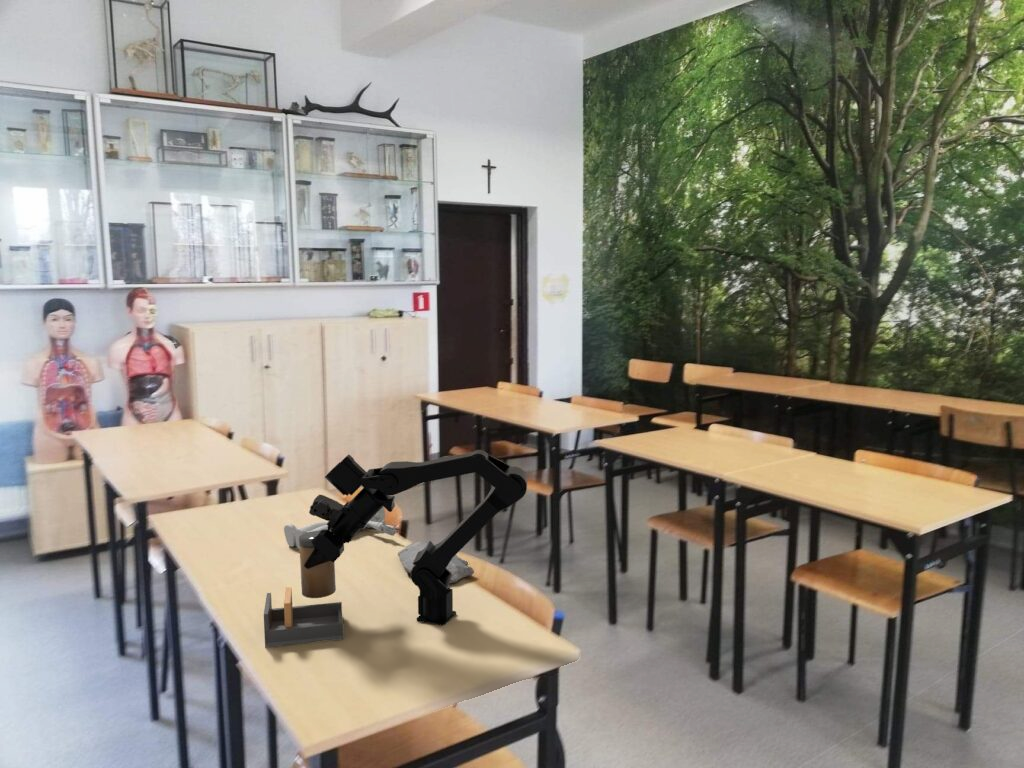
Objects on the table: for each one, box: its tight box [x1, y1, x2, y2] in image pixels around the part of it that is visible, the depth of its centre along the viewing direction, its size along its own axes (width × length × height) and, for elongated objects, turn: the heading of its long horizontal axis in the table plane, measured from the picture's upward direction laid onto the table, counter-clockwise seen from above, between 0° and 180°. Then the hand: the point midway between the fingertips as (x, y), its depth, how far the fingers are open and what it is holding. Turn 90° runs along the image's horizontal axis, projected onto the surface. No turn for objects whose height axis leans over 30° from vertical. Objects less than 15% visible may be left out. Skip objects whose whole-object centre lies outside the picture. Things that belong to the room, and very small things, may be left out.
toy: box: [283, 506, 398, 551], centre depth 219 cm, size 33×8×30 cm
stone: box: [397, 540, 475, 584], centre depth 194 cm, size 16×6×25 cm
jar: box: [299, 531, 337, 599], centre depth 166 cm, size 7×7×12 cm
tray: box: [263, 592, 344, 648], centre depth 160 cm, size 15×11×7 cm
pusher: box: [283, 586, 293, 628], centre depth 159 cm, size 1×8×7 cm, turn 14°
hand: (310, 560), depth 166 cm, fingers closed on jar, 7 cm apart
